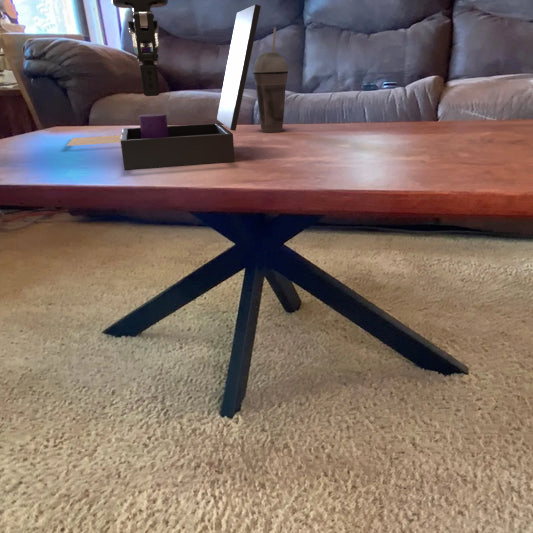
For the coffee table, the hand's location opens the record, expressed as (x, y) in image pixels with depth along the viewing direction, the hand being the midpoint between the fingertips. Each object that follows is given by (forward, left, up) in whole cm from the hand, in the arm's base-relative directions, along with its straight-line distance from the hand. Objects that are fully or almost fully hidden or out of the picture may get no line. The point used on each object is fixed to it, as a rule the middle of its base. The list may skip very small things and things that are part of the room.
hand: (151, 93), depth 75 cm
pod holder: (+3, 0, -10) cm, 11 cm away
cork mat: (-9, +26, -10) cm, 29 cm away
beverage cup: (+25, +28, -10) cm, 39 cm away
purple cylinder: (0, 0, -10) cm, 10 cm away
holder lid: (+12, 0, +3) cm, 13 cm away
